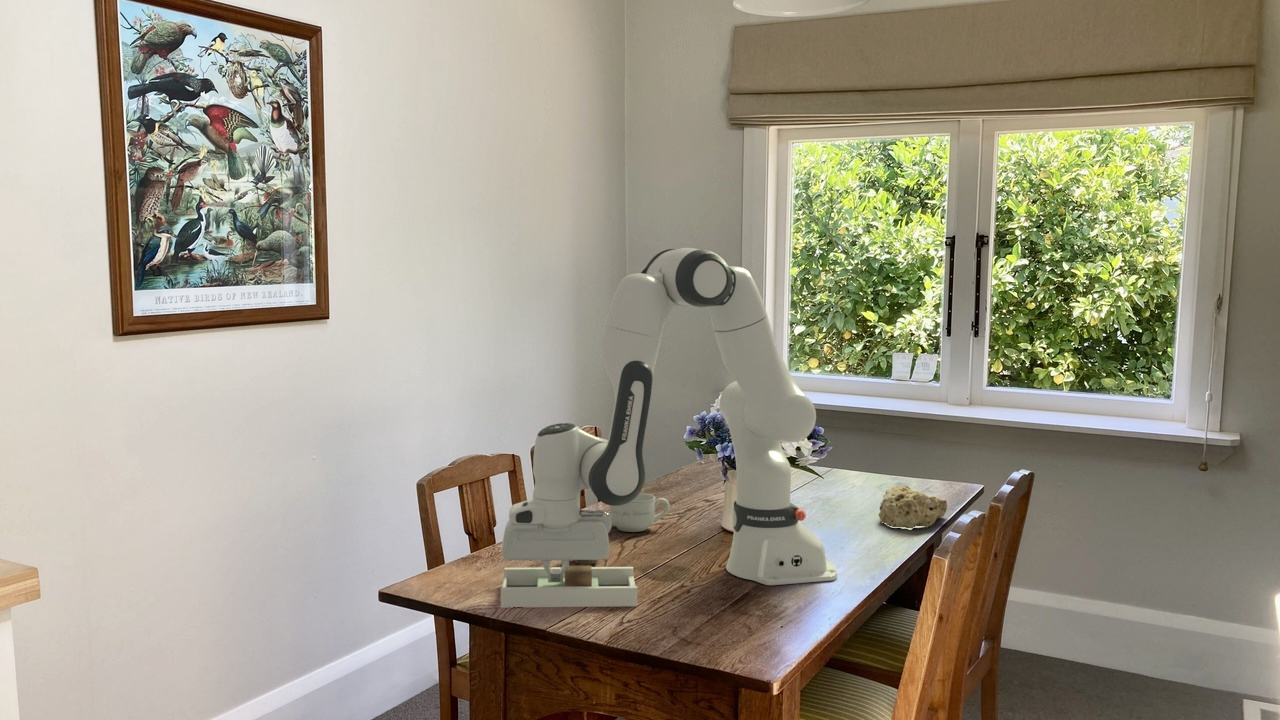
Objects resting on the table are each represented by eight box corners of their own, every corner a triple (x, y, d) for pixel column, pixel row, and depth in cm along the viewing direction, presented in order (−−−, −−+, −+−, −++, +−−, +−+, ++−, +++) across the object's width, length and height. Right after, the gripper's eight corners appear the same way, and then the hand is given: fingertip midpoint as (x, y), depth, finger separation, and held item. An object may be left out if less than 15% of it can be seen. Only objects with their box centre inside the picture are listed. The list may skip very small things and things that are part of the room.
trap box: (632, 584, 191) (633, 566, 191) (637, 606, 180) (637, 587, 179) (504, 585, 189) (504, 567, 189) (500, 607, 178) (500, 589, 177)
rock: (890, 511, 253) (902, 475, 252) (944, 533, 246) (956, 496, 245) (866, 521, 235) (879, 482, 234) (924, 544, 228) (937, 505, 227)
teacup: (604, 533, 225) (604, 499, 224) (616, 521, 236) (616, 488, 235) (662, 538, 222) (663, 504, 221) (672, 525, 232) (673, 493, 232)
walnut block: (591, 580, 187) (591, 565, 187) (591, 589, 182) (591, 574, 182) (564, 580, 187) (565, 565, 186) (564, 590, 182) (565, 574, 181)
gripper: (611, 505, 186) (609, 575, 188) (503, 505, 185) (503, 576, 186) (612, 514, 180) (611, 587, 182) (501, 514, 179) (500, 587, 180)
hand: (555, 581), depth 184 cm, fingers closed
